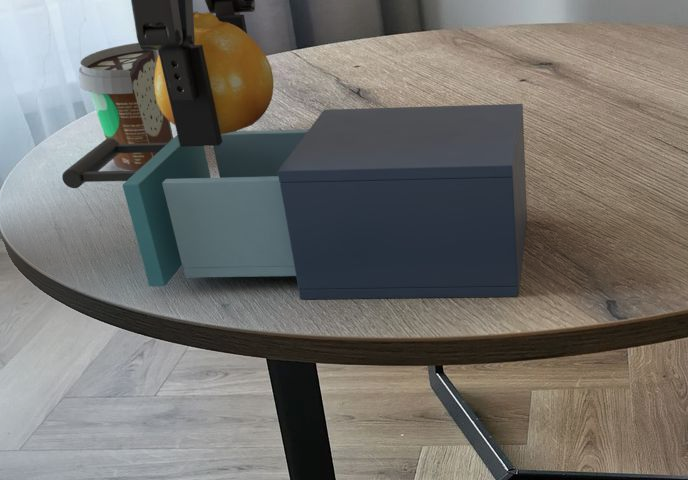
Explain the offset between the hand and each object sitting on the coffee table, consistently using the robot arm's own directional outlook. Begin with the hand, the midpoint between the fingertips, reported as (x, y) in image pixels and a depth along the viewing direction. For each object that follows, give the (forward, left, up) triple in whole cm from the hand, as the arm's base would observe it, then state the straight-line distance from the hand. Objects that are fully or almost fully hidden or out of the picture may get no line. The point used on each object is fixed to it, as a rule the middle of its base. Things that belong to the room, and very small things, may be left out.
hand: (222, 123), depth 69 cm
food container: (-20, +25, -11) cm, 33 cm away
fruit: (0, 0, -1) cm, 1 cm away
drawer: (-1, 0, -10) cm, 10 cm away
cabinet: (+13, 0, -11) cm, 17 cm away
